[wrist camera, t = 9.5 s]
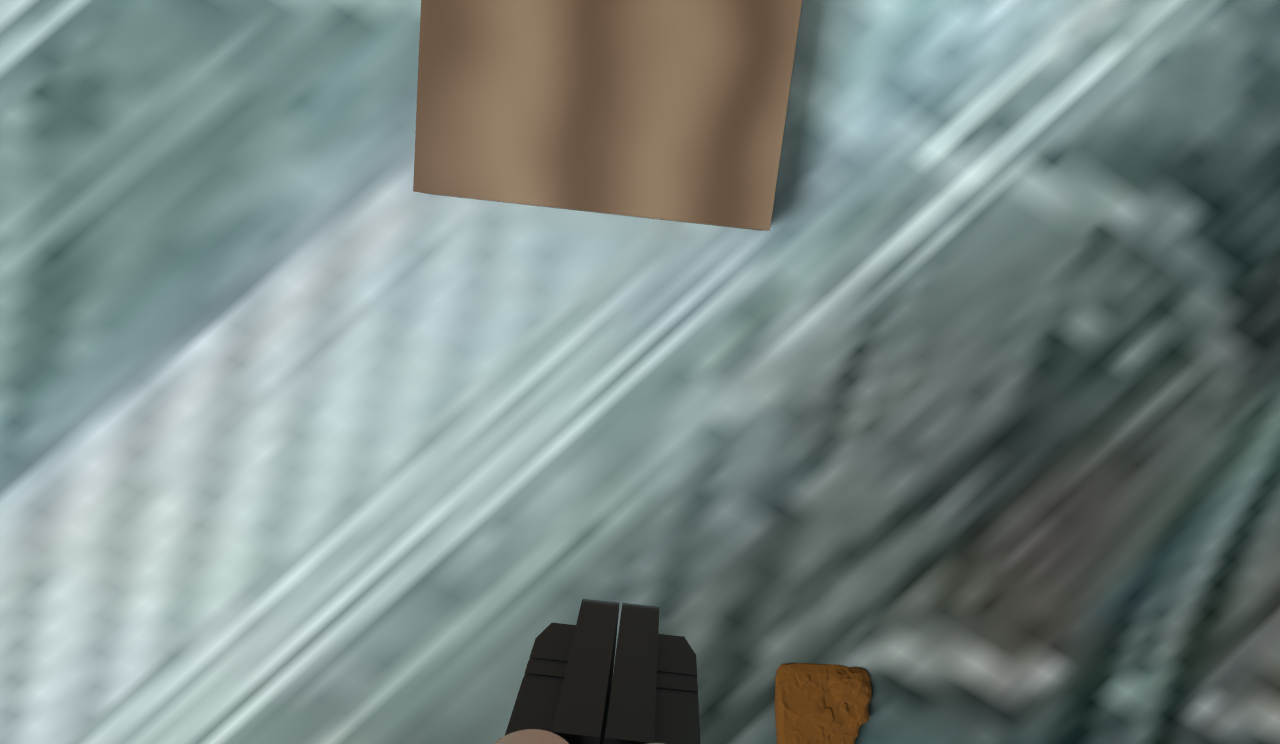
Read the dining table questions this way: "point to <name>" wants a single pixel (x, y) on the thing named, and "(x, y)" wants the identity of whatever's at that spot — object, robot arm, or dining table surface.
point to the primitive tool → (820, 703)
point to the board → (607, 105)
